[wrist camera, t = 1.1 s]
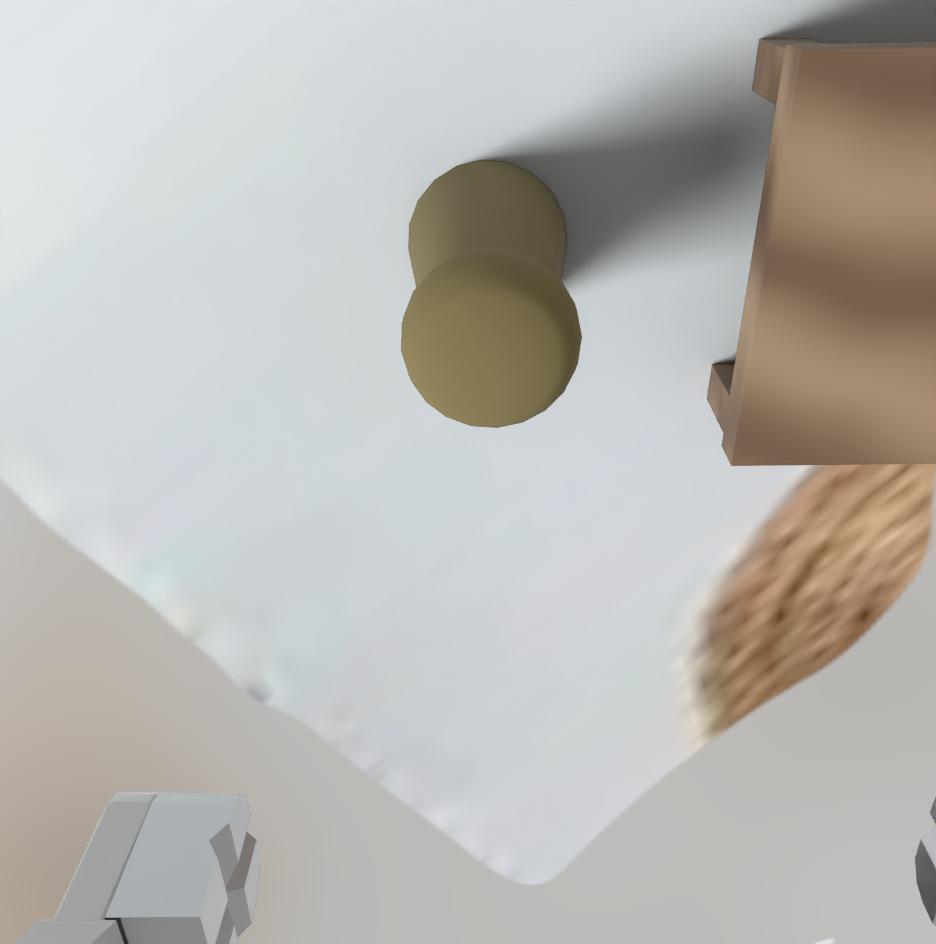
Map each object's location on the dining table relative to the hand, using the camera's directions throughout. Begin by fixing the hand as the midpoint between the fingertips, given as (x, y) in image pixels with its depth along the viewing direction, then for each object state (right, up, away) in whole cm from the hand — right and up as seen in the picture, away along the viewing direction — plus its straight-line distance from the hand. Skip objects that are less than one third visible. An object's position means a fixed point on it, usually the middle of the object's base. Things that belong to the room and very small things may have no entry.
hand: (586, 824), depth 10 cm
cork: (-1, +13, +23) cm, 26 cm away
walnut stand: (+14, +13, +22) cm, 30 cm away
